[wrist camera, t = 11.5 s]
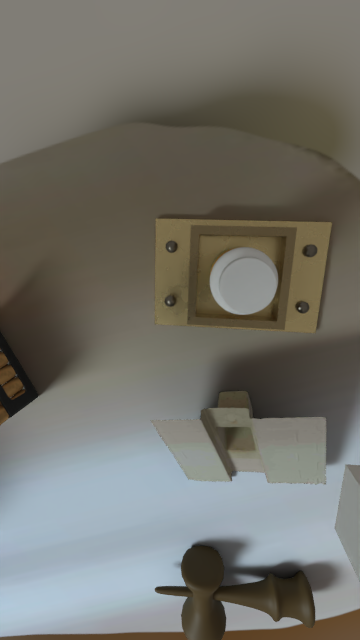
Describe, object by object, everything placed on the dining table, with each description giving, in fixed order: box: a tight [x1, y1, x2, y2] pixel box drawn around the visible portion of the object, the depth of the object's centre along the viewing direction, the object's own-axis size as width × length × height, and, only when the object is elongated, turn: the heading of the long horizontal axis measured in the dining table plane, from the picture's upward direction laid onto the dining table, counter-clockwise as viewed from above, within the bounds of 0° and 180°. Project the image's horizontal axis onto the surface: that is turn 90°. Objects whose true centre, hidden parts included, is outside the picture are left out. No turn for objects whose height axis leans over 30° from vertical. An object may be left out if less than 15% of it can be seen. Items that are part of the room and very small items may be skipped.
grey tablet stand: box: [151, 391, 327, 484], centre depth 31 cm, size 16×9×15 cm
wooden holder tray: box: [155, 219, 332, 333], centre depth 29 cm, size 17×11×3 cm, turn 88°
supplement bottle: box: [210, 247, 278, 315], centre depth 25 cm, size 5×5×10 cm
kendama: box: [155, 546, 315, 640], centre depth 37 cm, size 6×10×20 cm
